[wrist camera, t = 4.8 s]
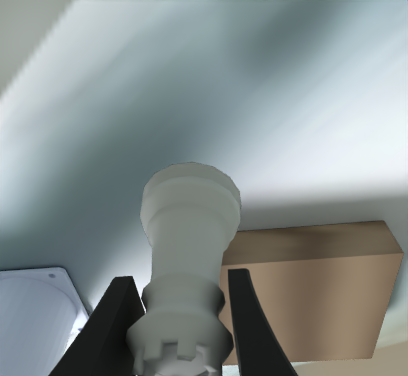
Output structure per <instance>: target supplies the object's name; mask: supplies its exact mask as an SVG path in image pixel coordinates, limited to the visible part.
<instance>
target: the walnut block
mask: <svg viewBox="0 0 408 376" xmlns="http://www.w3.org/2000/svg"><path fill="white" fill-rule="evenodd" d="M403 255H404V252H403V251H402V249H401V248H400V246H399V244H398V243H397V241H396V239H395V238H394V236H393V235H392V233H391V231H390V230H389V228H388V227H387V225H386V223H385V222H384V221H373V222H359V223H346V224H333V225H320V226H307V227H293V228H280V229H267V230H254V231H241V232H236V234H235V236H234V239H233V240H232V241H230V243H229V246H228V248H227V249H226V250H225V251H224V252H223V258H222V264H221V271H220V277H219V288H220V289H221V290H222V291H223V292H224V296H225V301H226V303H225V306H224V308H223V310H222V312H221V313H220V314H219V317H218V318H219V320H220V321H221V322H222V323H223V324H224V326H225V327H226V328H227V329H228V330H229V332H230V333H231V334H232V336H233V341H234V334H233V325H232V316H231V307H230V298H229V289H228V269H240V268H247V269H248V270H249V271H250V276H251V280H252V283H253V286H254V289H255V292H256V295H257V297H258V300H259V302H260V305H261V307H262V309H263V312H264V314H265V316H266V318H267V320H268V322H269V324H270V326H271V328H272V330H273V332H274V334H275V336H276V338H277V340H278V342H279V344H280V346H281V347H282V349H283V351H284V353H285V355H286V356H287V358H288V360H289V362H308V361H328V360H349V359H369V358H372V356H373V353H374V349H375V346H376V343H377V340H378V336H379V333H380V330H381V326H382V323H383V320H384V317H385V313H386V310H387V307H388V304H389V300H390V297H391V294H392V291H393V287H394V284H395V281H396V277H397V274H398V271H399V268H400V264H401V261H402V258H403ZM225 365H238V361H237V354H236V348H235V342H234V348H233V350H232V352H231V353H230V355H229V357H228V358H227V359H226V361H225V362H224V363H223V364H222V366H225Z"/></svg>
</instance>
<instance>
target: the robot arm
mask: <svg viewBox="0 0 408 376" xmlns="http://www.w3.org/2000/svg"><path fill="white" fill-rule="evenodd" d="M228 289H229V298H230V307H231V316H232V325H233V334H234V342H235V348H236V354H237V361H238V367H239V374H240V376H298V375H297V373H296V372H295V370H294V368H293V367H292V365H291V363H290V362H289V360H288V358H287V356H286V355H285V353H284V351H283V349H282V347H281V346H280V344H279V342H278V340H277V338H276V336H275V334H274V332H273V330H272V328H271V326H270V324H269V322H268V320H267V318H266V316H265V314H264V312H263V309H262V307H261V305H260V302H259V300H258V297H257V295H256V292H255V289H254V286H253V283H252V280H251V276H250V271H249V270H248V269H247V268H240V269H228ZM144 315H145V311H144V308H143V305H142V303H141V300H140V297H139V294H138V291H137V288H136V285H135V282H134V279H133V276H123V277H115V278H114V279H113V280H112V282H111V283H110V285H109V287H108V288H107V290H106V292H105V293H104V295H103V297H102V298H101V300H100V302H99V303H98V305H97V306H96V308H95V310H94V311H93V313H92V314H91V316H90V317H89V316H88V314H87V312H86V310H85V308H84V306H83V304H82V302H81V300H80V298H79V296H78V294H77V292H76V290H75V288H74V286H73V284H72V282H71V280H70V278H69V276H68V274H67V272H66V270H65V269H63V268H60V267H56V268H42V269H28V270H14V271H0V376H136V375H132V371H133V365H134V360H135V358H134V357H133V355H132V353H131V351H130V349H129V347H128V345H127V344H126V342H125V339H126V335H127V330H128V329H129V328H130V327H131V326H132V325H133V324H135V323H136V322H137V321H138V320H139V319H140V318H141V317H142V316H144ZM71 333H79V334H78V336H77V337H76V338H75V340H74V341H73V343H72V344H71V345H70V347H69V348H68V350H67V351H66V352H65V354H64V351H65V348H66V345H67V342H68V339H69V336H70V334H71ZM63 354H64V355H63Z"/></svg>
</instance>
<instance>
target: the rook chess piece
mask: <svg viewBox="0 0 408 376" xmlns="http://www.w3.org/2000/svg"><path fill="white" fill-rule="evenodd" d="M240 209H241V199H240V191H239V190H238V188H237V187H236V185H235V184H234V182H233V181H232V179H231V178H230V177H229V176H227V175H226V174H224V173H223V172H221V171H220V170H218V169H216V168H215V167H213V166H208V165H204V164H199V163H195V162H190V163H181V164H172V165H170V166H168V167H166V168H164V169H162V170H160V171H158V172H156V173H155V174H154V175H153V176H152V178H151V179H150V180H149V181H148V182H147V184H146V185H145V186H144V191H143V197H142V206H141V211H140V218H141V222H142V225H143V228H144V231H145V234H146V235H147V238H148V240H149V243H150V245H151V246H152V275H151V281H150V283H149V284H148V285H147V286H146V287H145V288H144V289H143V293H142V297H141V300H142V302H143V304H144V307H145V309H146V314H145V315H144V316H142V317H141V318H140V319H139V320H138V321H137V322H136V323H135V324H133V325H132V326H131V327H130V328H129V329H128V330H127V335H126V339H125V342H126V344H127V345H128V347H129V349H130V351H131V353H132V355H133V357H134V358H135V360H134V365H133V371H132V375H138V376H222V364H223V363H224V362H225V361H226V359H227V358H228V357H229V355H230V353H231V352H232V350H233V348H234V341H233V336H232V334H231V333H230V332H229V330H228V329H227V328H226V327H225V326H224V324H223V323H222V322H221V321H220V320H219V318H218V317H219V314H220V313H221V312H222V310H223V308H224V306H225V303H226V301H225V296H224V292H223V291H222V290H221V289H220V288H219V277H220V271H221V264H222V258H223V252H224V251H225V250H226V249H227V248H228V246H229V243H230V241H232V240H233V239H234V236H235V234H236V231H237V229H238V227H239V224H240V221H241V216H240Z"/></svg>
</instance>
